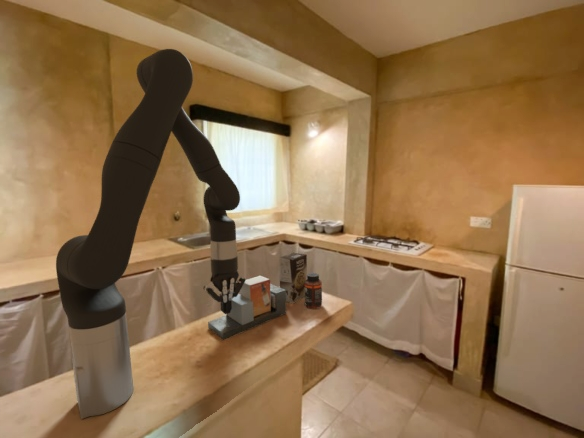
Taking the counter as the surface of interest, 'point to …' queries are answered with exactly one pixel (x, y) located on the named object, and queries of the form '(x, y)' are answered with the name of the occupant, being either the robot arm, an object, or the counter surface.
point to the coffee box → (293, 276)
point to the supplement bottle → (313, 291)
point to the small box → (258, 294)
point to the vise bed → (230, 327)
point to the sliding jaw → (241, 310)
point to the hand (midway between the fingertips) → (226, 312)
